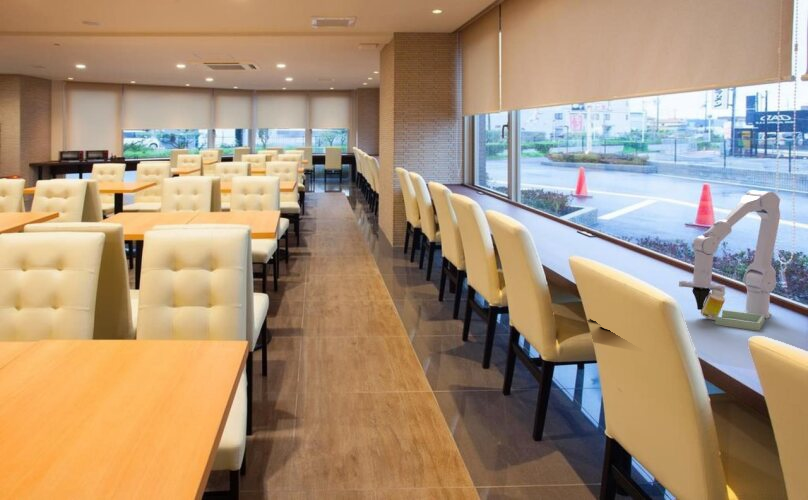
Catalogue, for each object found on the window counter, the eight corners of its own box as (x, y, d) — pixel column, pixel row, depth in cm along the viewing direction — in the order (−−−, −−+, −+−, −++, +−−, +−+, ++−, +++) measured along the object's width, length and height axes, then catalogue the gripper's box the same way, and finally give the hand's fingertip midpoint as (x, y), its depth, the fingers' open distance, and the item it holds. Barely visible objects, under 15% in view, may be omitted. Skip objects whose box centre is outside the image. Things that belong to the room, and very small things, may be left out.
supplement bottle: (719, 321, 223) (731, 294, 220) (704, 318, 223) (715, 291, 220) (711, 314, 229) (722, 288, 225) (697, 311, 228) (708, 285, 225)
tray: (722, 316, 229) (722, 309, 229) (764, 322, 222) (764, 315, 221) (715, 324, 219) (715, 317, 218) (758, 330, 211) (759, 323, 211)
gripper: (677, 270, 226) (675, 308, 228) (723, 274, 218) (720, 314, 220) (682, 267, 232) (680, 304, 234) (727, 271, 223) (724, 310, 225)
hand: (699, 309), depth 227 cm, fingers closed
